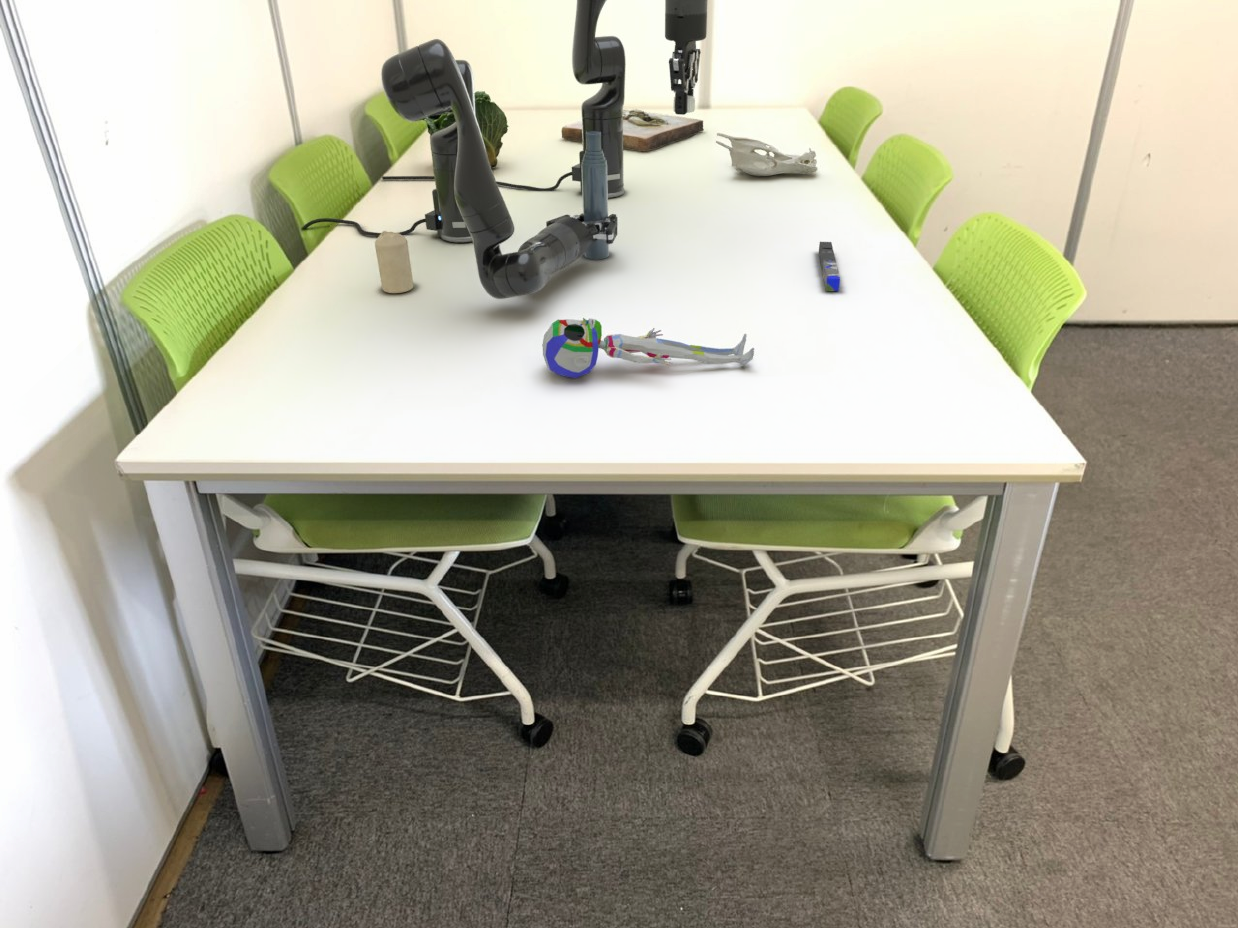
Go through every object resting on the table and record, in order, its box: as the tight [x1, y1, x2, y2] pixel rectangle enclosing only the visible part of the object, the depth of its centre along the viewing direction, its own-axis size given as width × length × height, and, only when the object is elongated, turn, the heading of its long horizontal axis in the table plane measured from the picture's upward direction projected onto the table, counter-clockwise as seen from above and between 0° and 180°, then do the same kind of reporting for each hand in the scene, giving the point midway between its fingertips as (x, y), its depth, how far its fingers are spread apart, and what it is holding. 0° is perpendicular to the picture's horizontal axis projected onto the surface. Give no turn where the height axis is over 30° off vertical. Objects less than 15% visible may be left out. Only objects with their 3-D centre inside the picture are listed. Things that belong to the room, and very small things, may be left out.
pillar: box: [818, 241, 841, 292], centre depth 163 cm, size 2×2×20 cm
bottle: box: [581, 131, 610, 261], centre depth 167 cm, size 5×5×23 cm
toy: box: [541, 317, 755, 379], centre depth 130 cm, size 10×8×30 cm
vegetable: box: [422, 90, 510, 169], centre depth 225 cm, size 20×19×20 cm
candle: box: [374, 230, 414, 294], centre depth 157 cm, size 6×6×10 cm
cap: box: [673, 95, 696, 114], centre depth 168 cm, size 4×4×2 cm
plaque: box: [561, 108, 705, 152], centre depth 257 cm, size 30×7×30 cm
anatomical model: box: [715, 132, 818, 177], centre depth 219 cm, size 15×9×25 cm
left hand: (601, 217), depth 172 cm, fingers closed on bottle, 4 cm apart
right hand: (684, 111), depth 169 cm, fingers closed on cap, 3 cm apart
